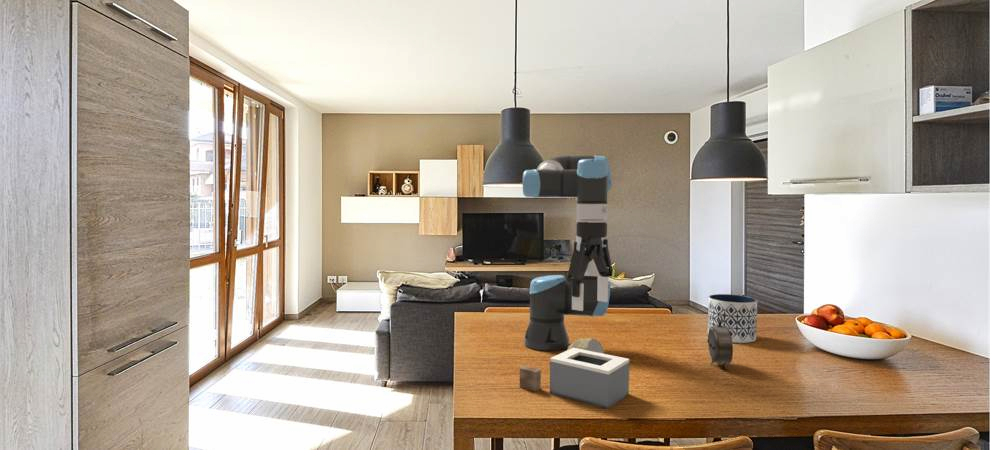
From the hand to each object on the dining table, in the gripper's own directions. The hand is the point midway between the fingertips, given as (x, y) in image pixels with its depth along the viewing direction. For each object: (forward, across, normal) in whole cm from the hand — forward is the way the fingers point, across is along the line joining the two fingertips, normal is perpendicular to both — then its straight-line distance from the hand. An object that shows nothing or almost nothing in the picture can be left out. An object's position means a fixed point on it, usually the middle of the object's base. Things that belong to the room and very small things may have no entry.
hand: (590, 305), depth 129 cm
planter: (+23, +80, -15) cm, 85 cm away
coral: (+23, +17, +10) cm, 30 cm away
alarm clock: (+23, +44, -20) cm, 53 cm away
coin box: (+22, 0, 0) cm, 23 cm away
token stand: (+22, -6, +14) cm, 27 cm away
